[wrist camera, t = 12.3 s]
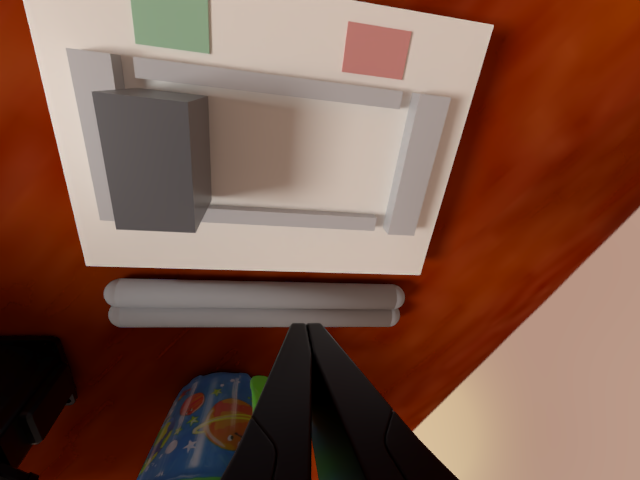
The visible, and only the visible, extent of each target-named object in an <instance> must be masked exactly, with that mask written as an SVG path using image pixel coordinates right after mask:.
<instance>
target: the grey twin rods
mask: <svg viewBox="0 0 640 480" xmlns="http://www.w3.org/2000/svg"><path fill="white" fill-rule="evenodd" d="M104 298H105V300H106V302H107V303H108V304H109V305H111V307H110V309H109V312H108V317H109V320H110V322H111V323H112V324H113V325H115V326H118V327H290V325H291V324H292V323H305V324H307V323H321V324H322V325H323V326H324V327H391V326H393V325H395V324H396V323H397V322H398V320H399V318H400V312H399V309H398V308H399V307H401V306H402V305H403V303H404V300H405V295H404V292H403V290H402V289H401V288H400V287H399V286H397V285H394V284H357V283H311V282H265V281H218V280H172V279H126V278H121V279H116V280H113V281H111V282H110V283H109V284H108V285H107V286H106V288H105V290H104Z"/></svg>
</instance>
